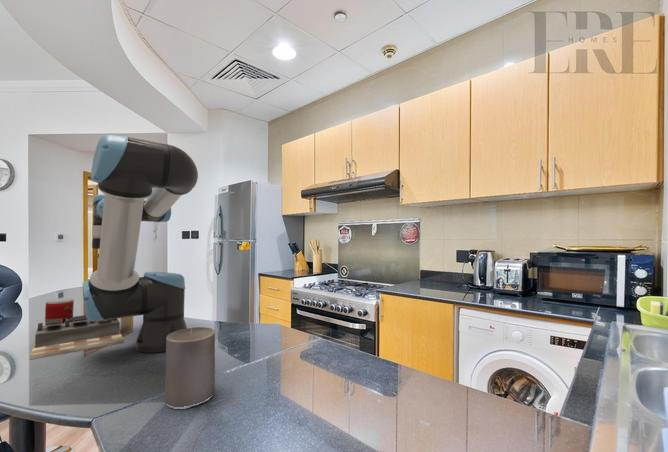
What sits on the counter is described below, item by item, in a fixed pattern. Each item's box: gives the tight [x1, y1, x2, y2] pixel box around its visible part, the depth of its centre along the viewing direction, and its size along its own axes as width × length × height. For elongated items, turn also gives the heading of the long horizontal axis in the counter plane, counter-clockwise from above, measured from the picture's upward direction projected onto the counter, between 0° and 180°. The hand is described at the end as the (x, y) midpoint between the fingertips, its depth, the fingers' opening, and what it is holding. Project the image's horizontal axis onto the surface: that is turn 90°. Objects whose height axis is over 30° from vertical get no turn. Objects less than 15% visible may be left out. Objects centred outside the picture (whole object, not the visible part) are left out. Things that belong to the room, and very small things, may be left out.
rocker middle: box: [73, 314, 88, 322], centre depth 105 cm, size 9×4×1 cm, turn 41°
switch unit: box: [29, 318, 125, 360], centre depth 102 cm, size 18×22×7 cm
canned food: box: [44, 297, 75, 326], centre depth 117 cm, size 8×8×11 cm
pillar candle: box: [164, 326, 216, 407], centre depth 67 cm, size 10×10×15 cm
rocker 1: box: [46, 318, 62, 325], centre depth 101 cm, size 9×4×1 cm, turn 41°
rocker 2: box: [98, 319, 112, 324], centre depth 109 cm, size 9×4×1 cm, turn 40°
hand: (103, 303), depth 112 cm, fingers closed
